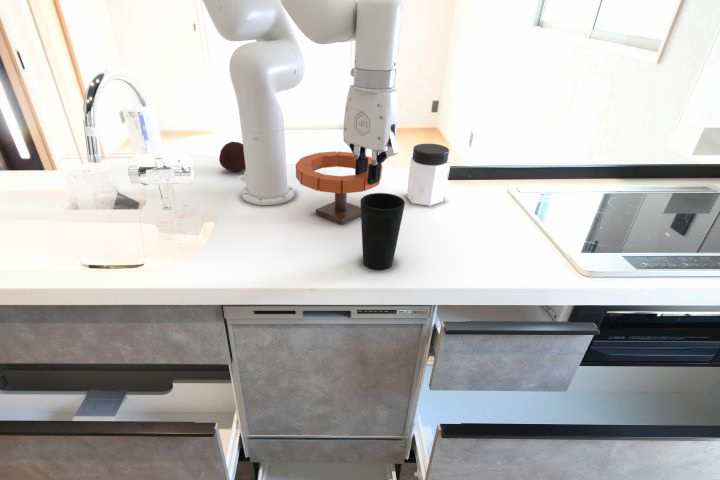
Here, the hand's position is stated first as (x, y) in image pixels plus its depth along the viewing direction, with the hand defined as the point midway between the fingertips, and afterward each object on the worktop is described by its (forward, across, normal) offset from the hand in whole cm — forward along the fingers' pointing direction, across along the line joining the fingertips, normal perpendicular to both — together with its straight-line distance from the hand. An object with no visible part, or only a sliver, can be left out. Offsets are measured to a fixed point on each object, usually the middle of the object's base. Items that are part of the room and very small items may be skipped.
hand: (367, 179), depth 92 cm
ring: (+1, -8, 0) cm, 8 cm away
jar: (+10, +2, +21) cm, 23 cm away
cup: (+10, +13, -12) cm, 20 cm away
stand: (+10, -7, 0) cm, 12 cm away
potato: (+11, -47, +2) cm, 48 cm away
